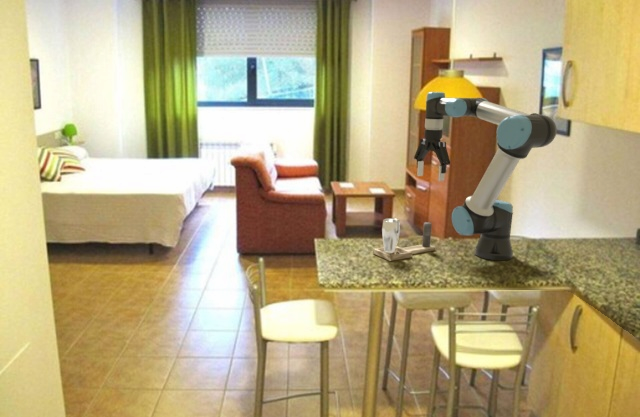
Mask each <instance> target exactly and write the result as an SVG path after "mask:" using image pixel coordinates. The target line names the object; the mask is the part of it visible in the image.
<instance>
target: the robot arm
mask: <svg viewBox="0 0 640 417" xmlns="http://www.w3.org/2000/svg"><path fill="white" fill-rule="evenodd" d="M425 103H426V104H425V119H424V120H425V122H424V128H425V129H424V133H423V134H424V135H423V136H424V138H421V139H419V145H418V147H417V149H416V152H415V154H414V156H413V159H414V160H416V161H417V162H416V168H417V170H416V173H417V175H416V177H423V176H424V167H425V166H424V164H425V162H424V159H425V157H426V156H427V154H429V152H434V154H435V156H436V157H437V159H438V160H437V161H438V162H439V167H438V179H437V180H438V182H445V179H446V178H445V176H446V173H447V172H446V171H447V166H450V165H451V161H450V156H449V152H448V148H447V142H446V141H441V139H442V138H443V132H444V130H442V129H443V128H444V127H443V126H444V117H449V118H450V117H451V118H460V117H474V118H477V119H479V120H483V121H486V122H488V123H491V124H494V125H498V126H497V128H496V138H495V139H496V141H497V142H496V146H497V150H496V152H495V154H494V156H493V157H492V160H491V161H490V163H489V165H488V166H487V169H486V170H485V172H484V174H483V176H482V178H481V180H480V181H479V183H478V185H477V186H476V189H475V190H474V192H473V194H472V195H469V196H467V197H466V198H465V200H464V201H463V204H462V205H458V206H456V207H455V208H453V210H452V212H451V222H452V223H451V224H452V226H453V228H454V230H455V231H456V233H458V235H460V236H473V235H474V236H475V235H478V234H479V235H480V237H479V239H478V240H477V244H476V246H475V248H474V255H475V256H477V257H479V258H482V259H485V260H490V261H508V260H512V259H513V256H514V250H513V248H512V243H511V230H512V223H513V215H514V212H513V211H514V210H513V208H514V206H513V205H512V203H510V202H508V201H504V200H499V199H498V197H499V196H500V195H501V194H502V191H503V190H504V187H505V185H506V184H507V182H508V181H509V179H510V177H511V175H512V174H513V172H514V171H515V168H516V167H517V165H518V164H519V162H520V161H521V160H524V159H526V158H527V157H528V156H529V154H530V151H531V150H532V149H535V148H543V147H546V146H548V145H550V144H551V143H552V142H553V141H554V140H555V138H556V137H557V130H558V128H557V124H556V122H555V121H554V119H553V118H551V117H549V116H548V115H546V114H545V115H543V114H540V113H535V112H532V113H526V112H523V111H519V110H516V109H515V108H514V109H513V108H510V107H507V106H505V105H500V104H497V103H494V102H491V101H488V99H487V98H485V97H484V98H482V97H446V93H445V92H443V91H442V92H440V91H430V92H427V95H426V100H425Z"/></svg>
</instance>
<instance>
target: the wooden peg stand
mask: <svg viewBox="0 0 640 417" xmlns="http://www.w3.org/2000/svg"><path fill="white" fill-rule="evenodd" d="M422 227H423V230H422V244H417V245H411V246H406V247H400V246H398V245H397V254H393V255H390V254H387V253H385V252H383V248H384V246H381V247H377V248H376V247H375V248H372V254H373V255H376V256H378V257H380V258H382V259H385V260H387V261H389V262H391V261H398V260H403V259H408V258H412V257H413V254H421V253H425V252H426V253H427V252H432V251H436V246H434V245H432V244H431V239H432V238H431V236H432V223H431V222H428V221H427V222H426V221H425V222H423V226H422Z"/></svg>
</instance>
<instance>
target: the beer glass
mask: <svg viewBox="0 0 640 417" xmlns="http://www.w3.org/2000/svg"><path fill="white" fill-rule="evenodd" d="M400 226H401V224H400V220H399V219H397V218H384V219H382V228H381V232H382V233H381V234H382V244H383V247H384V248H383V252H385V253H387V254H390V255H393V254H398V252H397V246H398V242H399V237H400V233H401V232H400V231H401V228H400Z"/></svg>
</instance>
